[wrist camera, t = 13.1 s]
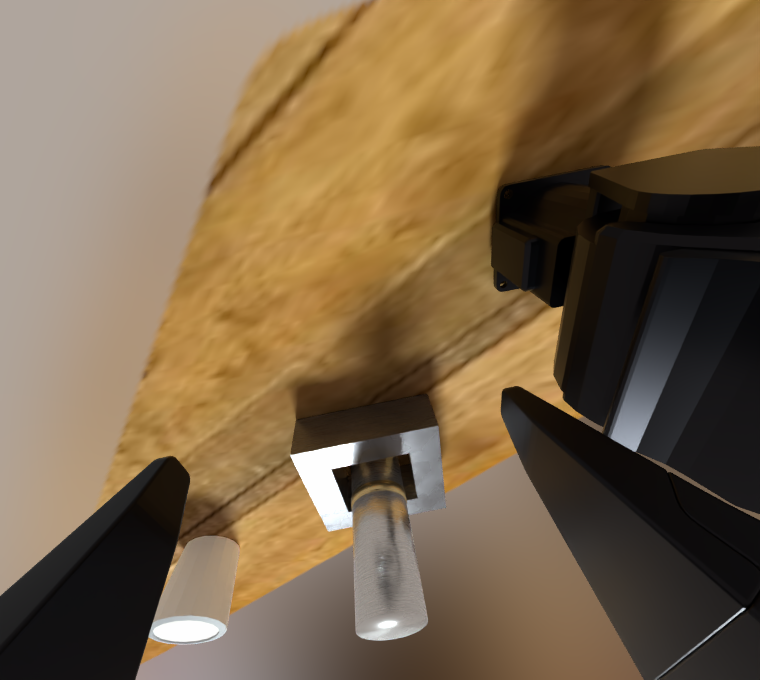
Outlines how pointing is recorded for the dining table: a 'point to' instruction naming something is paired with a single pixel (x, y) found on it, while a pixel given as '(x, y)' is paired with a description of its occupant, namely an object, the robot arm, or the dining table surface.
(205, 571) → the white cylinder
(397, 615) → the grey rounded cylinder
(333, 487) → the collar block
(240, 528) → the dining table surface
